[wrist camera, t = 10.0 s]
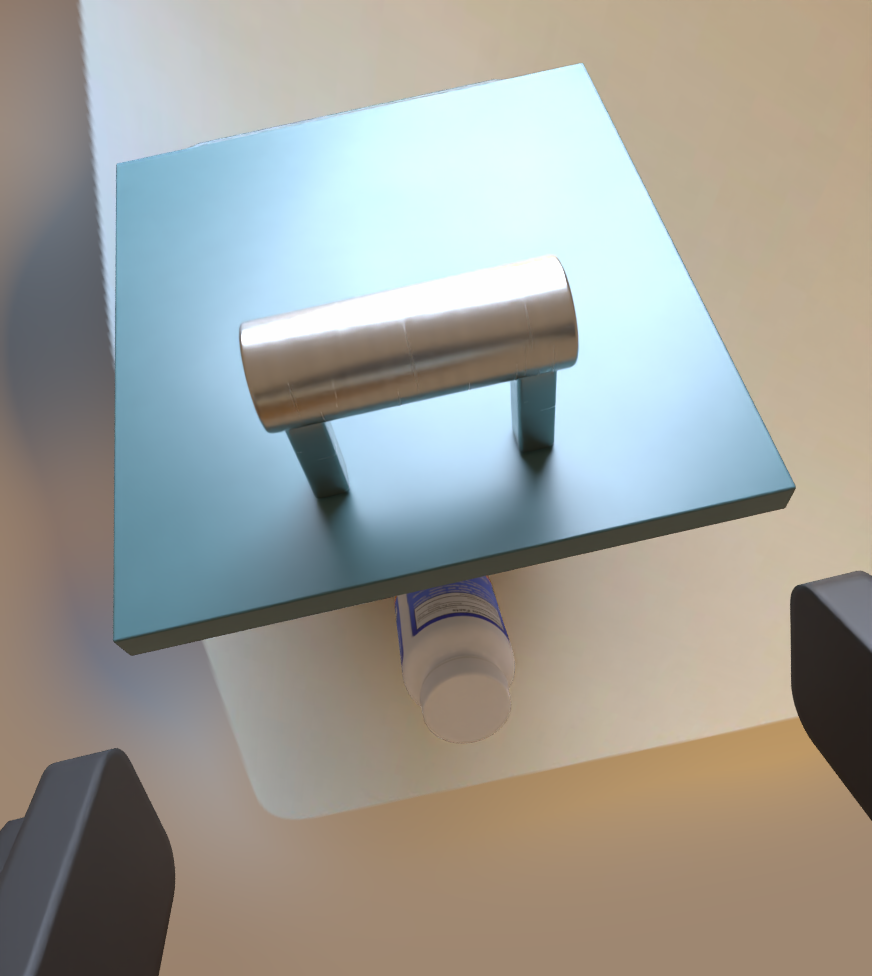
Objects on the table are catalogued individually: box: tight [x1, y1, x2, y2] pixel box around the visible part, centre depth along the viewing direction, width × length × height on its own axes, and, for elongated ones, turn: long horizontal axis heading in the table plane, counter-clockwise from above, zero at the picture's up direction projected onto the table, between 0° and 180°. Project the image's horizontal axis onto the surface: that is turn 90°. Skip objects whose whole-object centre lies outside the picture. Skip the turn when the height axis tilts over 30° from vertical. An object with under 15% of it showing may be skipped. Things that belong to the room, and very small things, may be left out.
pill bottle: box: [395, 575, 515, 743], centre depth 41 cm, size 5×5×10 cm
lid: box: [113, 63, 796, 656], centre depth 17 cm, size 14×13×5 cm
